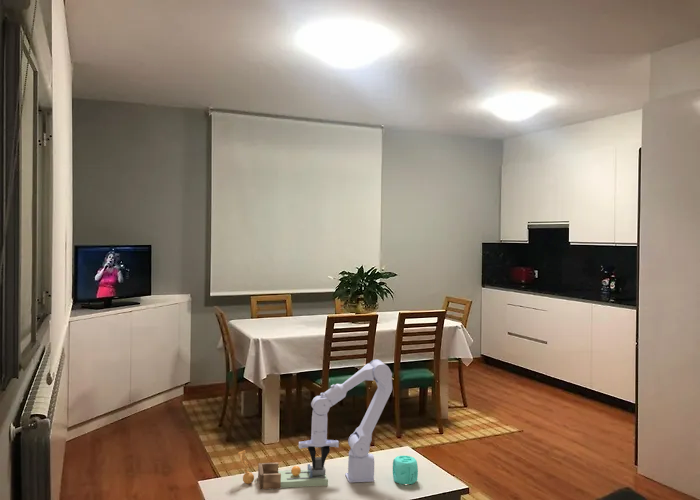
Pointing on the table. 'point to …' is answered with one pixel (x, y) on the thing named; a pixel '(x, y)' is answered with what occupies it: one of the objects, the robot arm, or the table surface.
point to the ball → (295, 470)
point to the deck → (301, 479)
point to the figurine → (248, 476)
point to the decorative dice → (405, 470)
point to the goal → (269, 476)
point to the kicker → (316, 468)
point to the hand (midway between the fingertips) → (317, 466)
